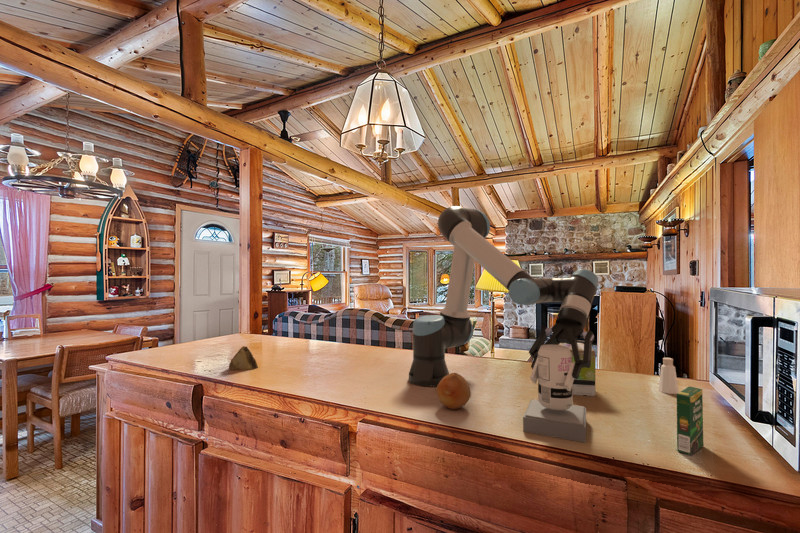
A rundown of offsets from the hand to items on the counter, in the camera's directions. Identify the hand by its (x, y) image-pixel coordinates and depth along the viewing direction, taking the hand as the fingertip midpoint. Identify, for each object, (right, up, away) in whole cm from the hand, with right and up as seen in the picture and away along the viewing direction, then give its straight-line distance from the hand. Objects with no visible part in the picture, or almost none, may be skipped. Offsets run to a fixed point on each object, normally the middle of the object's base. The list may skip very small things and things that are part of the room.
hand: (549, 384), depth 94 cm
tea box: (+22, -12, +33) cm, 41 cm away
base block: (+2, -12, +2) cm, 12 cm away
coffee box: (+27, -11, -11) cm, 31 cm away
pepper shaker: (+51, -12, +29) cm, 60 cm away
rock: (-104, -13, +62) cm, 122 cm away
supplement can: (+2, -6, +2) cm, 7 cm away
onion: (-22, -12, +16) cm, 30 cm away
